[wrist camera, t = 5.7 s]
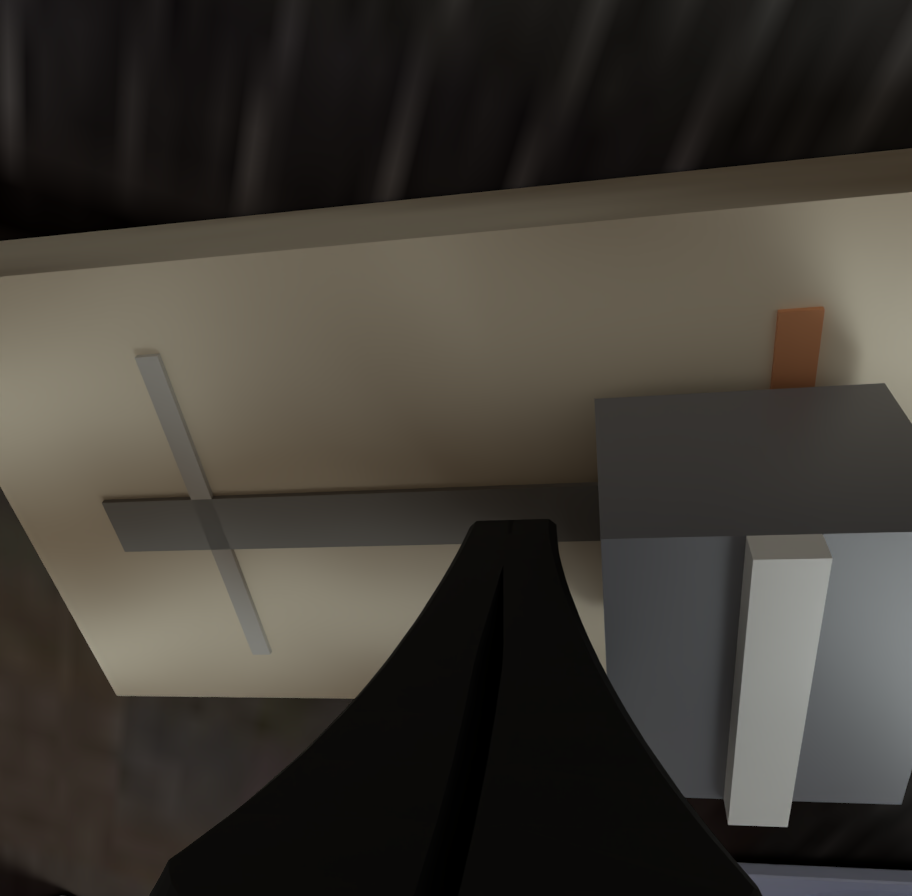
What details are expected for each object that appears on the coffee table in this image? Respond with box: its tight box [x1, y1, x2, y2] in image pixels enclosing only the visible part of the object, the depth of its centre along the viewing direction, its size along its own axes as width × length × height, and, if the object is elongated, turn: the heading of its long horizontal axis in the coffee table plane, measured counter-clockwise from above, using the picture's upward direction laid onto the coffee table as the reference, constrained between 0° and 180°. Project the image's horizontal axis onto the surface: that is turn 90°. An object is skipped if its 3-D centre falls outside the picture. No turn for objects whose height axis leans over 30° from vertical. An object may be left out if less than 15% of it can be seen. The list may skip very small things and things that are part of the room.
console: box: [0, 148, 912, 699], centre depth 14 cm, size 10×20×2 cm, turn 98°
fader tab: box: [594, 383, 912, 827], centre depth 11 cm, size 5×4×4 cm
